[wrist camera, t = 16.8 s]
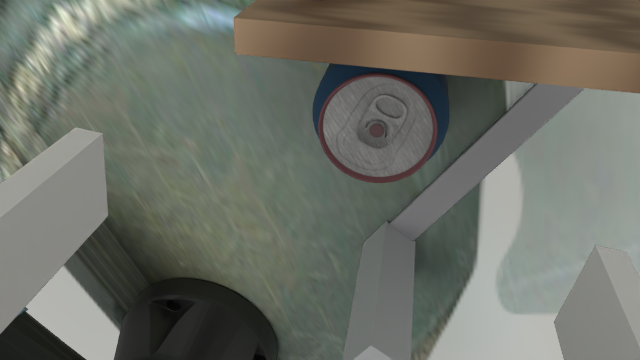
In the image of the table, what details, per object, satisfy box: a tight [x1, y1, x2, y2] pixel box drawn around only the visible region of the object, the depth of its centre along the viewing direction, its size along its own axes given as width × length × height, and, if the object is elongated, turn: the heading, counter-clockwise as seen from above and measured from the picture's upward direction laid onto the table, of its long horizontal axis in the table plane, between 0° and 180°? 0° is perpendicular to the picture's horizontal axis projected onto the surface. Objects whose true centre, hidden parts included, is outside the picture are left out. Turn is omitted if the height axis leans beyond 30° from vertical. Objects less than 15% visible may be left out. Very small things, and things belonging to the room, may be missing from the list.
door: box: [234, 0, 640, 93], centre depth 27 cm, size 22×3×12 cm, turn 88°
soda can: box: [313, 63, 449, 183], centre depth 31 cm, size 7×7×12 cm
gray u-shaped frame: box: [343, 83, 584, 360], centre depth 31 cm, size 29×3×14 cm, turn 145°
